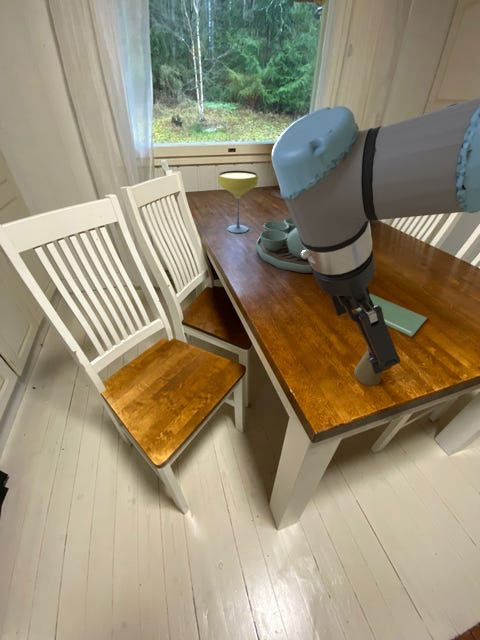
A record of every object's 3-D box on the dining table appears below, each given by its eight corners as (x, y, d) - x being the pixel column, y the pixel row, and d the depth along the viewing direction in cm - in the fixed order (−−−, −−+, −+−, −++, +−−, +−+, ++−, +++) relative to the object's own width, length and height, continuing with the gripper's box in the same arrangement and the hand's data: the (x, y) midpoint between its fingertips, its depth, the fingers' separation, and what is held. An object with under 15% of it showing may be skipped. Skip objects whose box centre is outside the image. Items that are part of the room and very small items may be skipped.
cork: (352, 381, 63) (367, 347, 56) (354, 363, 68) (368, 329, 61) (380, 389, 62) (398, 355, 55) (380, 370, 66) (397, 336, 59)
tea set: (310, 229, 138) (316, 195, 128) (370, 262, 110) (384, 221, 100) (240, 242, 125) (240, 205, 115) (288, 284, 97) (294, 239, 87)
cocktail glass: (246, 221, 147) (248, 169, 132) (261, 233, 134) (265, 176, 119) (215, 225, 142) (212, 171, 126) (227, 238, 129) (226, 180, 113)
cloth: (426, 319, 82) (427, 317, 82) (411, 337, 75) (412, 336, 75) (369, 294, 92) (370, 293, 92) (351, 308, 86) (352, 307, 85)
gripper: (281, 223, 43) (315, 301, 58) (361, 345, 27) (379, 409, 42) (325, 198, 42) (348, 284, 57) (439, 310, 25) (428, 390, 40)
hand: (361, 337), depth 49 cm, fingers open, 13 cm apart
